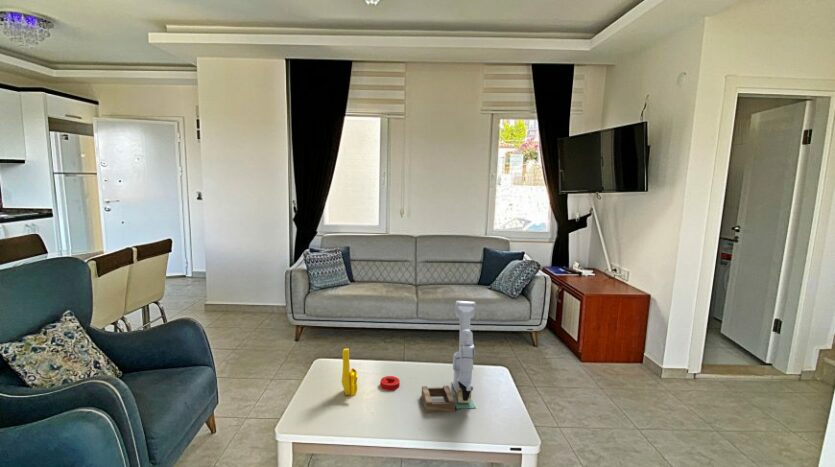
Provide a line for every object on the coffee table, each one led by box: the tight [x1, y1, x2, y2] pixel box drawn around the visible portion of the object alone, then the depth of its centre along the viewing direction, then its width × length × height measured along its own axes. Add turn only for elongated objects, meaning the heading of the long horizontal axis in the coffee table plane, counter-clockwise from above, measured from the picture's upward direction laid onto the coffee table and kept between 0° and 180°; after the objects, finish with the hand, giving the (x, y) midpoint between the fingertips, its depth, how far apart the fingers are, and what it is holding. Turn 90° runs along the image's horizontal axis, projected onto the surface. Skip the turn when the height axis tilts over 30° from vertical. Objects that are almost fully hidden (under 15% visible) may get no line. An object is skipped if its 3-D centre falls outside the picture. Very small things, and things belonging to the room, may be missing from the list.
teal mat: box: [454, 397, 477, 410], centre depth 197 cm, size 9×9×1 cm
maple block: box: [455, 388, 472, 403], centre depth 197 cm, size 4×6×5 cm, turn 98°
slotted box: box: [421, 385, 456, 414], centre depth 196 cm, size 15×13×5 cm
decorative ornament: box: [380, 375, 401, 391], centre depth 211 cm, size 10×10×3 cm
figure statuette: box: [341, 348, 359, 397], centre depth 201 cm, size 18×8×22 cm, turn 7°
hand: (464, 397), depth 197 cm, fingers closed on maple block, 4 cm apart
